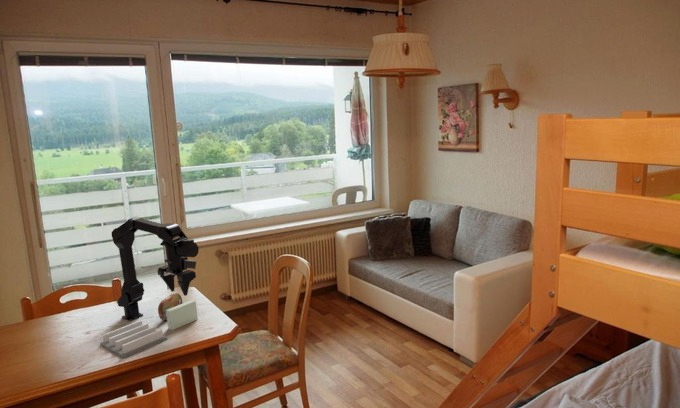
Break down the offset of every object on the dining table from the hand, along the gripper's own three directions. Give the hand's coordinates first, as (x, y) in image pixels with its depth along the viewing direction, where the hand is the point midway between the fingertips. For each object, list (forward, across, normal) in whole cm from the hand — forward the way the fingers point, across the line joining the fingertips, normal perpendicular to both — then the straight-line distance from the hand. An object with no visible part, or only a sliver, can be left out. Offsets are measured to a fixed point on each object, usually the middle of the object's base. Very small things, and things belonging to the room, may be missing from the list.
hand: (179, 293), depth 191 cm
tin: (+13, +12, -2) cm, 18 cm away
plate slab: (+13, 0, 0) cm, 13 cm away
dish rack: (+13, +2, +20) cm, 24 cm away
